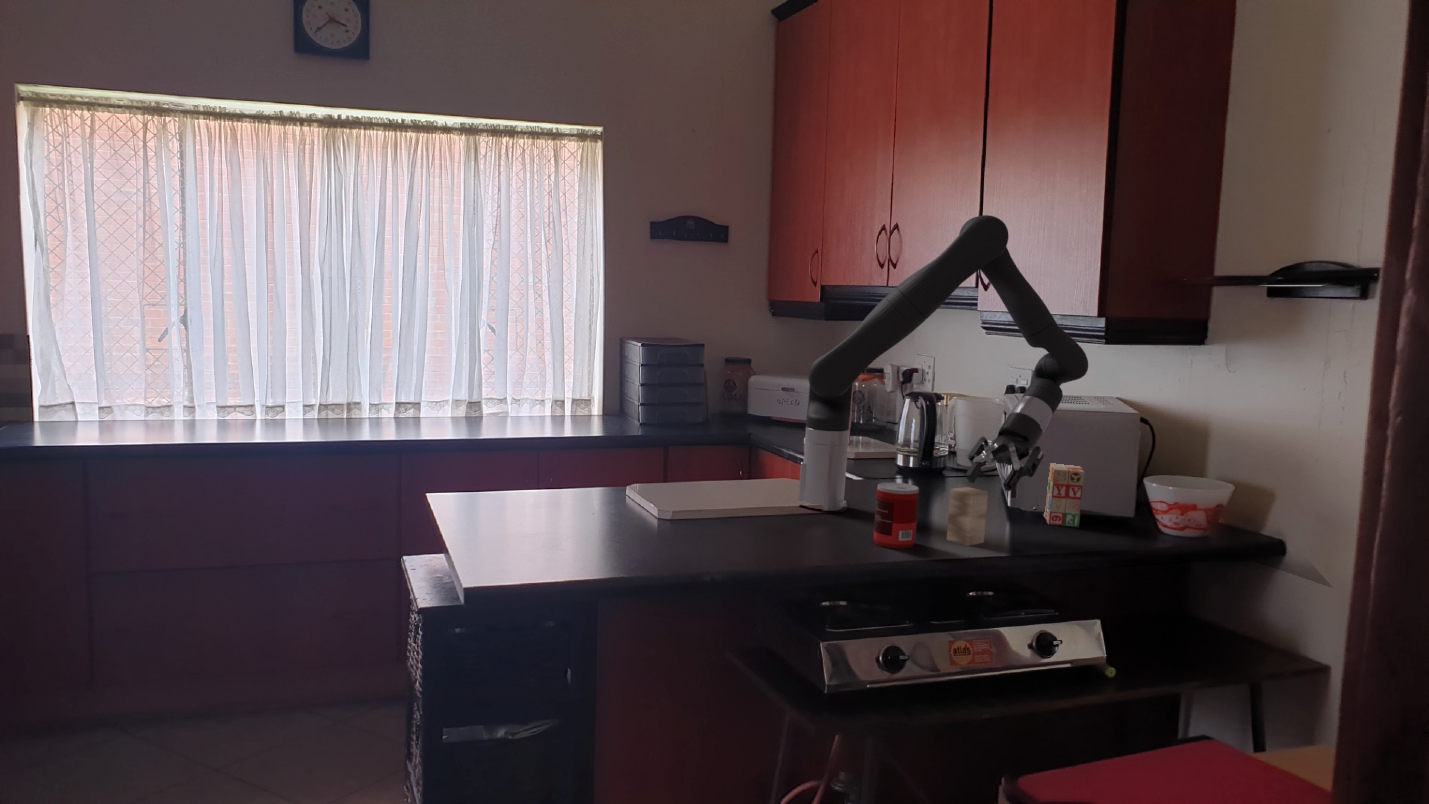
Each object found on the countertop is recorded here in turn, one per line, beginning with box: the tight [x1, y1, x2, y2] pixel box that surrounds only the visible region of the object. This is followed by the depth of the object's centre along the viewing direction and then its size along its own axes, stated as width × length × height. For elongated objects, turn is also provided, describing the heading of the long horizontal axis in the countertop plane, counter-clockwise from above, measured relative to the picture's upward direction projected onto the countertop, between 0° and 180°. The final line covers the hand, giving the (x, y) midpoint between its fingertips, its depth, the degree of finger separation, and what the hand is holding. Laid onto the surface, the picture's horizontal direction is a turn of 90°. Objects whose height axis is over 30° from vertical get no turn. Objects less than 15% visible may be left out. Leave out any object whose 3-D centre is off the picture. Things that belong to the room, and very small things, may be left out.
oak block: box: [946, 486, 989, 547], centre depth 191 cm, size 5×5×10 cm
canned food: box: [873, 482, 920, 550], centre depth 186 cm, size 8×8×11 cm
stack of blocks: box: [1042, 463, 1085, 528], centre depth 220 cm, size 21×6×12 cm, turn 169°
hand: (987, 484), depth 195 cm, fingers open, 8 cm apart
